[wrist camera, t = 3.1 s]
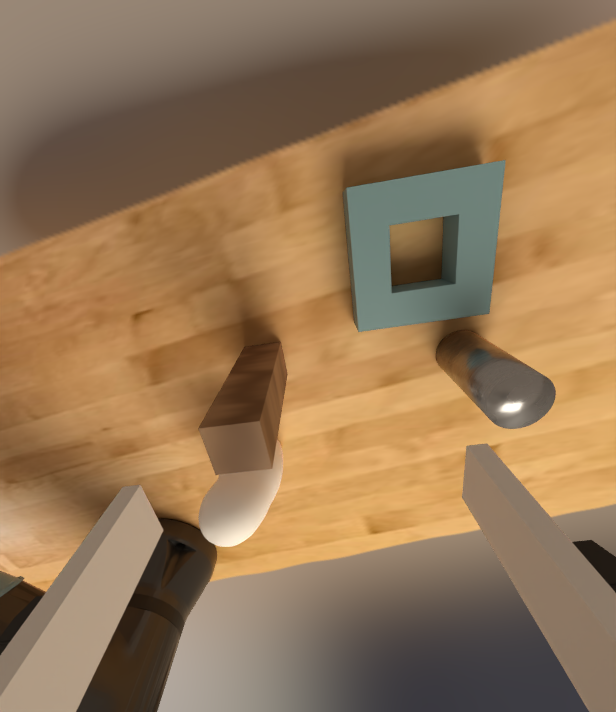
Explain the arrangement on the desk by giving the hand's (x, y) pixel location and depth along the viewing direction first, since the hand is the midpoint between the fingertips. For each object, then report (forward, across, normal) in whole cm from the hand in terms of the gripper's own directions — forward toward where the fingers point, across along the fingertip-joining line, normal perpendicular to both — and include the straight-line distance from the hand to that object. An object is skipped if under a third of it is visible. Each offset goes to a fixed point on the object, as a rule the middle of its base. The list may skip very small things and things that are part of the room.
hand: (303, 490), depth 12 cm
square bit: (+20, -5, -3) cm, 21 cm away
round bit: (+20, +16, -5) cm, 26 cm away
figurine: (+21, -9, -15) cm, 27 cm away
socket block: (+20, +11, +6) cm, 24 cm away
